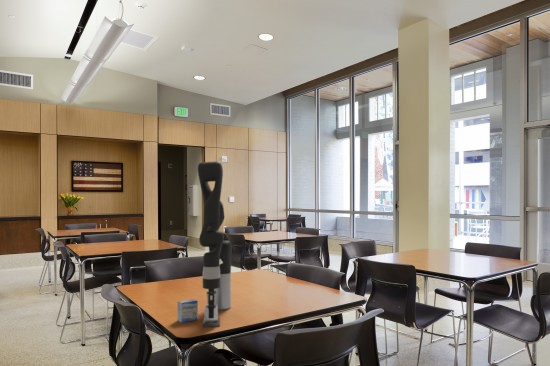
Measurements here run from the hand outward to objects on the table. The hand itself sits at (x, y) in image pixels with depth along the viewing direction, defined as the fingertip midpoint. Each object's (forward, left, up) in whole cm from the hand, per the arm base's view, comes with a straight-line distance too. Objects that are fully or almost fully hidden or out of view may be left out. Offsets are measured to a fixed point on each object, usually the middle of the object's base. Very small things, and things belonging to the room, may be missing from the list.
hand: (211, 315), depth 168 cm
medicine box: (-7, -10, -4) cm, 13 cm away
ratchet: (-4, 0, -3) cm, 5 cm away
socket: (0, 0, -1) cm, 1 cm away
